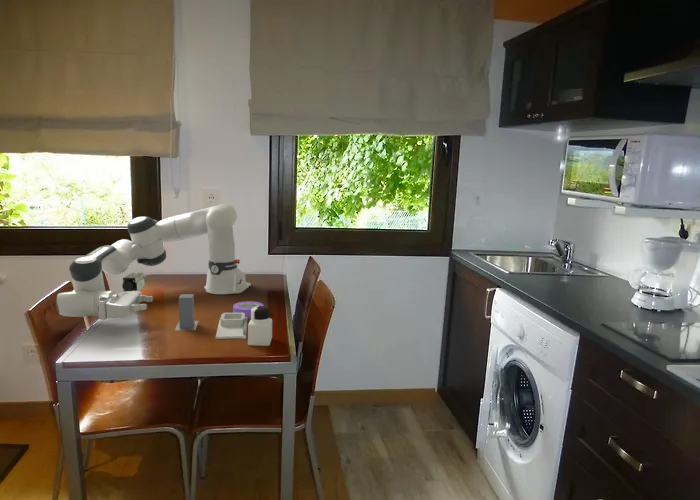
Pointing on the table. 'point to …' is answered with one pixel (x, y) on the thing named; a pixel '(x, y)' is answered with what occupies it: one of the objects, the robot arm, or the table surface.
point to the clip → (186, 310)
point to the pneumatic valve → (133, 282)
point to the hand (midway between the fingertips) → (149, 302)
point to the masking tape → (245, 307)
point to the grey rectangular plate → (187, 328)
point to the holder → (232, 326)
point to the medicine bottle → (260, 327)
